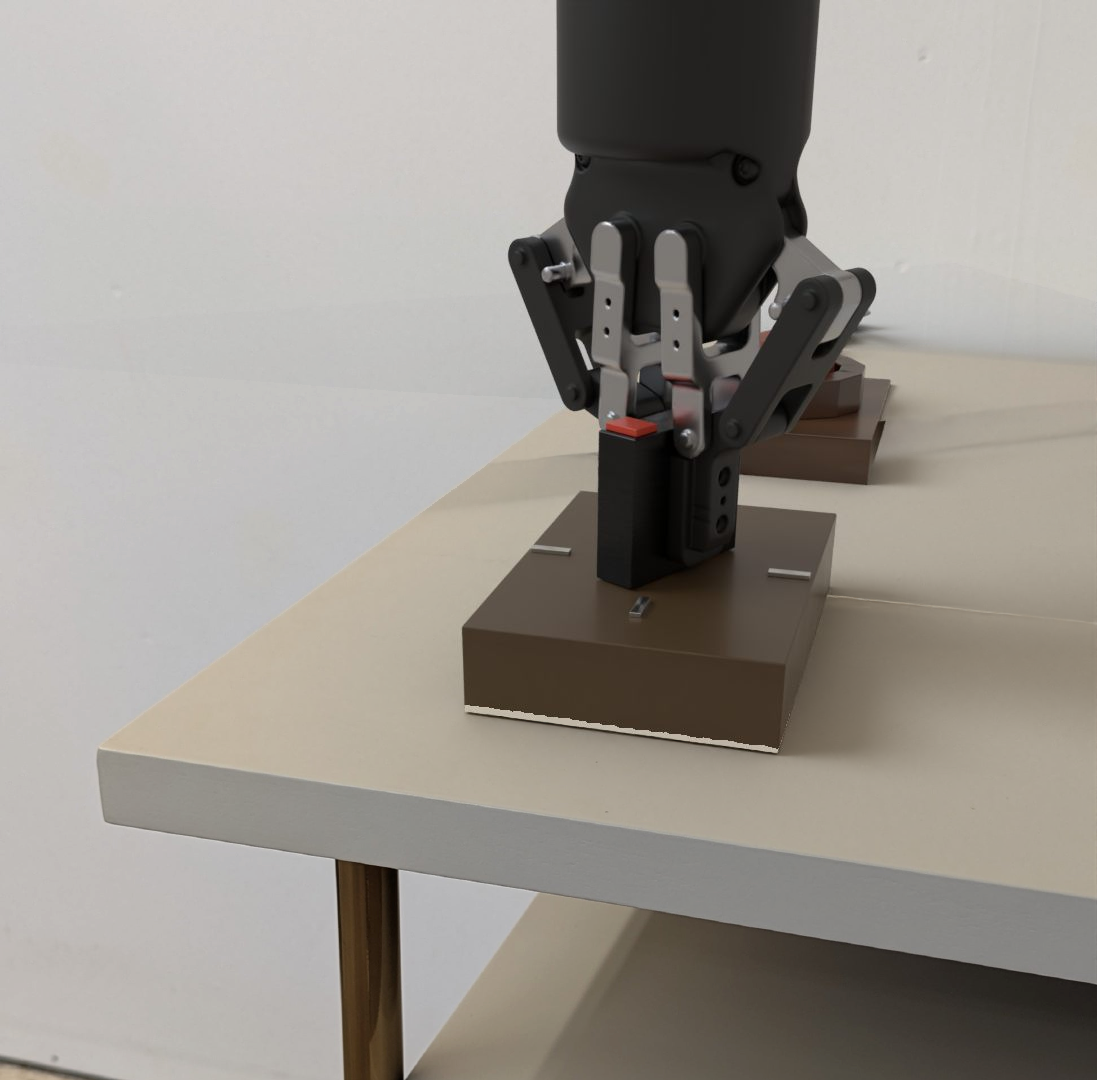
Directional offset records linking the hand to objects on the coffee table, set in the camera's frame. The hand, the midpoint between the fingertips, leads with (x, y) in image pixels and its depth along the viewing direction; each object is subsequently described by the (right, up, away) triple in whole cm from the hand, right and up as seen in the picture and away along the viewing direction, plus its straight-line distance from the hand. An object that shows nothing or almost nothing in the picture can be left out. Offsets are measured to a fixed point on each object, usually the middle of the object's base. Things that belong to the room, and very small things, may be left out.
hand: (668, 548), depth 48 cm
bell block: (+8, +8, +24) cm, 26 cm away
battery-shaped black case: (0, 0, 0) cm, 0 cm away
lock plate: (0, -3, +2) cm, 4 cm away
